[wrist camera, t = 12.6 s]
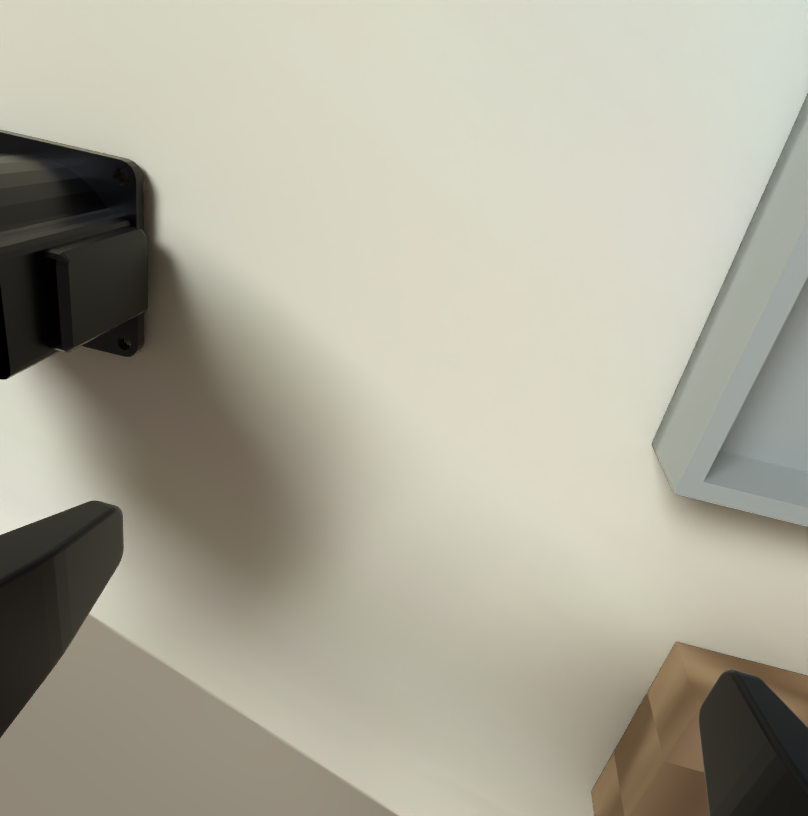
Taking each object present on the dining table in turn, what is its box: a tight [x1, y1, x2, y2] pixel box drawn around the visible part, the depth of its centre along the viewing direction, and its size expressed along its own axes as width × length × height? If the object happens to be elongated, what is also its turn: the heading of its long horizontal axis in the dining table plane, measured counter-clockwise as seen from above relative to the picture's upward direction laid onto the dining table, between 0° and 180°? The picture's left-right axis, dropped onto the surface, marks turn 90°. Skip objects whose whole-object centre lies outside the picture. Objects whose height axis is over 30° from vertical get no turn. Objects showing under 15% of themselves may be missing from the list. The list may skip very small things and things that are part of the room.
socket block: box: [591, 642, 808, 816], centre depth 24 cm, size 10×10×3 cm
